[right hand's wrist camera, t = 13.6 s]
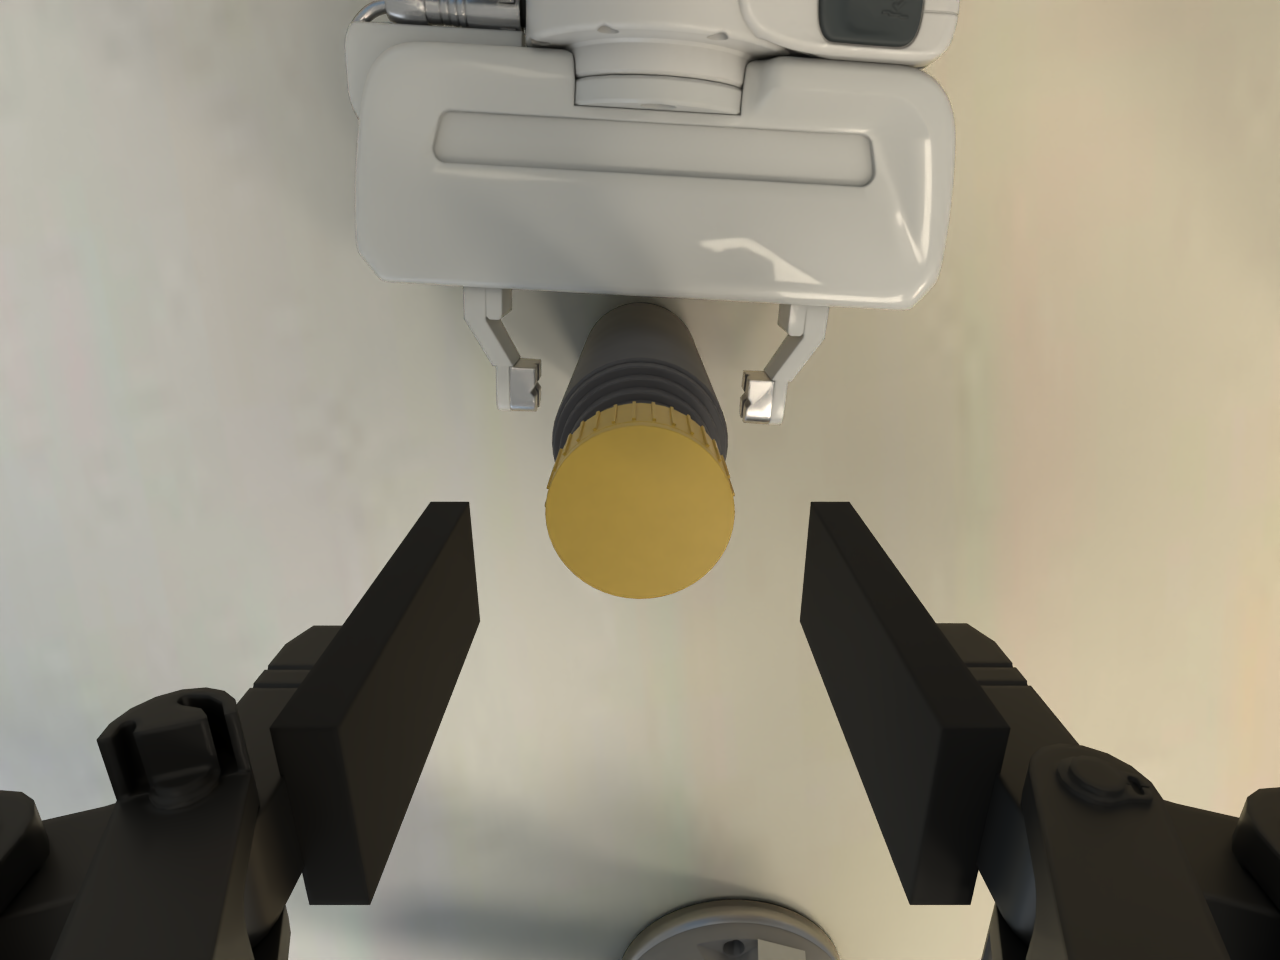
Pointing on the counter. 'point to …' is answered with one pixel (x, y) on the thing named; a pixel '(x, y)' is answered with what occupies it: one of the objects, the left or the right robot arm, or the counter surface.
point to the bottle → (640, 372)
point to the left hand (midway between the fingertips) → (640, 414)
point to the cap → (640, 501)
